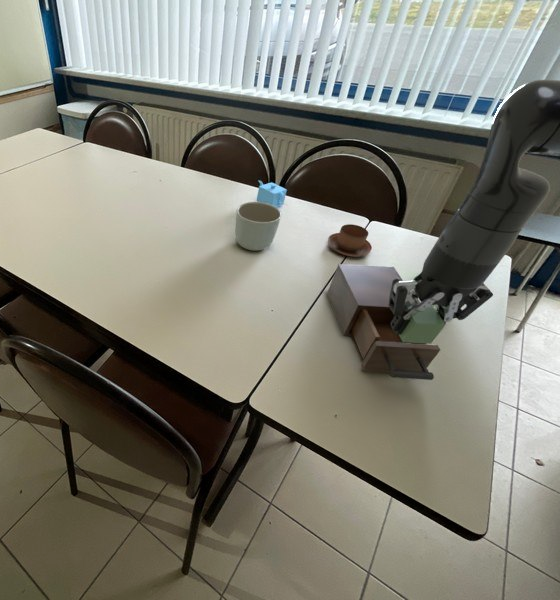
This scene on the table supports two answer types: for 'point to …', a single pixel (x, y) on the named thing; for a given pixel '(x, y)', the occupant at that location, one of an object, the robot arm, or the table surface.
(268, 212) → the planter
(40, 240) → the table surface
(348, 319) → the cabinet
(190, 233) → the table surface
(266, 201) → the teapot
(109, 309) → the table surface
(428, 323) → the block
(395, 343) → the drawer
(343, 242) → the cup and saucer
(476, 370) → the table surface
